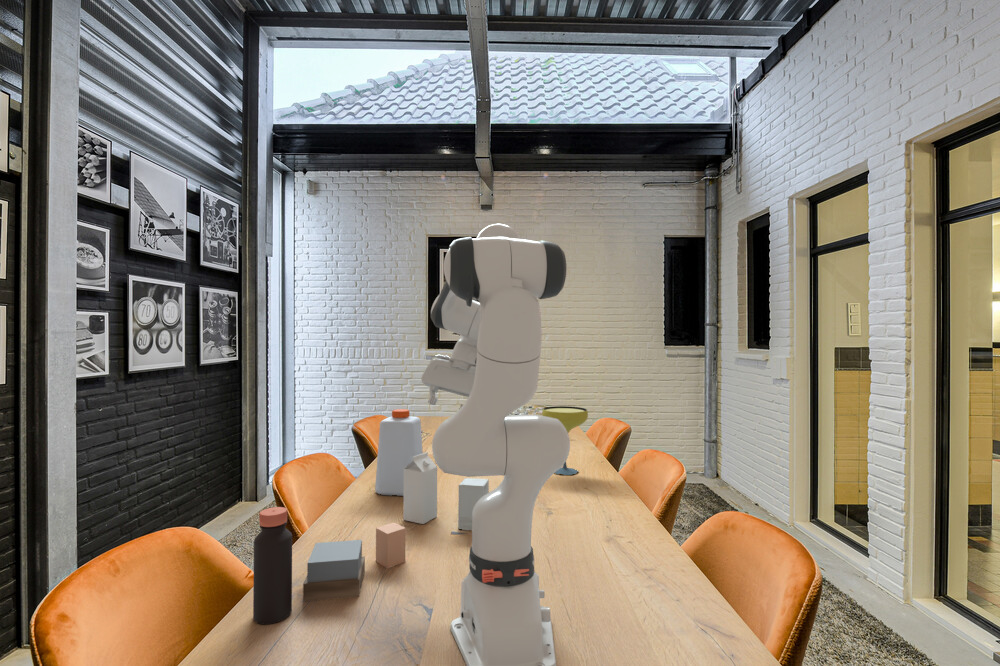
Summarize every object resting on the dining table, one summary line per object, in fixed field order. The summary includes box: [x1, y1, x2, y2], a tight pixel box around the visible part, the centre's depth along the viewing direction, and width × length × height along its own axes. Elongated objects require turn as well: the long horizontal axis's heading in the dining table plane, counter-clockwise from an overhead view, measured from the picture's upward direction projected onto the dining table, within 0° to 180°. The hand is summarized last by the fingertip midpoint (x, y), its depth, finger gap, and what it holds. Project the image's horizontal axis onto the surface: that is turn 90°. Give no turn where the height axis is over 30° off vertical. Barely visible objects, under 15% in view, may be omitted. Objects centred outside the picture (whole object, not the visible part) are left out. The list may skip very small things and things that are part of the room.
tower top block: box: [306, 539, 363, 583], centre depth 106 cm, size 10×10×4 cm
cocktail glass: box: [541, 405, 589, 476], centre depth 197 cm, size 18×18×25 cm
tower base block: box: [302, 556, 366, 602], centre depth 106 cm, size 11×11×4 cm
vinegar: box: [252, 506, 293, 625], centre depth 95 cm, size 7×7×20 cm
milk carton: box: [402, 451, 438, 525], centre depth 146 cm, size 7×7×19 cm
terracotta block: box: [375, 522, 407, 569], centre depth 118 cm, size 5×5×8 cm
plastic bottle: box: [374, 408, 424, 497], centre depth 173 cm, size 15×15×28 cm
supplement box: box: [457, 477, 490, 531], centre depth 140 cm, size 7×7×13 cm
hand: (446, 408), depth 126 cm, fingers open, 8 cm apart
